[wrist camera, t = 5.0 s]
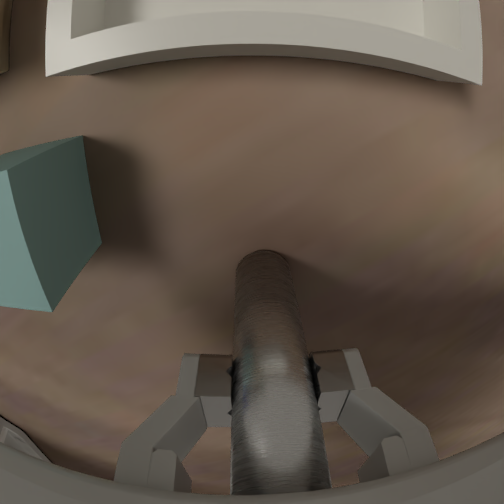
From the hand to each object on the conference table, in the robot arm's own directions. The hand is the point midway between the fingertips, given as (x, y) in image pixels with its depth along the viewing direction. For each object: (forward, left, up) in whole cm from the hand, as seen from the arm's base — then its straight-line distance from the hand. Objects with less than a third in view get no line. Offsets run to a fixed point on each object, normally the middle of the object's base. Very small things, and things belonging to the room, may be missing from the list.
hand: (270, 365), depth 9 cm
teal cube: (+4, +10, -5) cm, 12 cm away
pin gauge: (0, 0, -5) cm, 5 cm away
